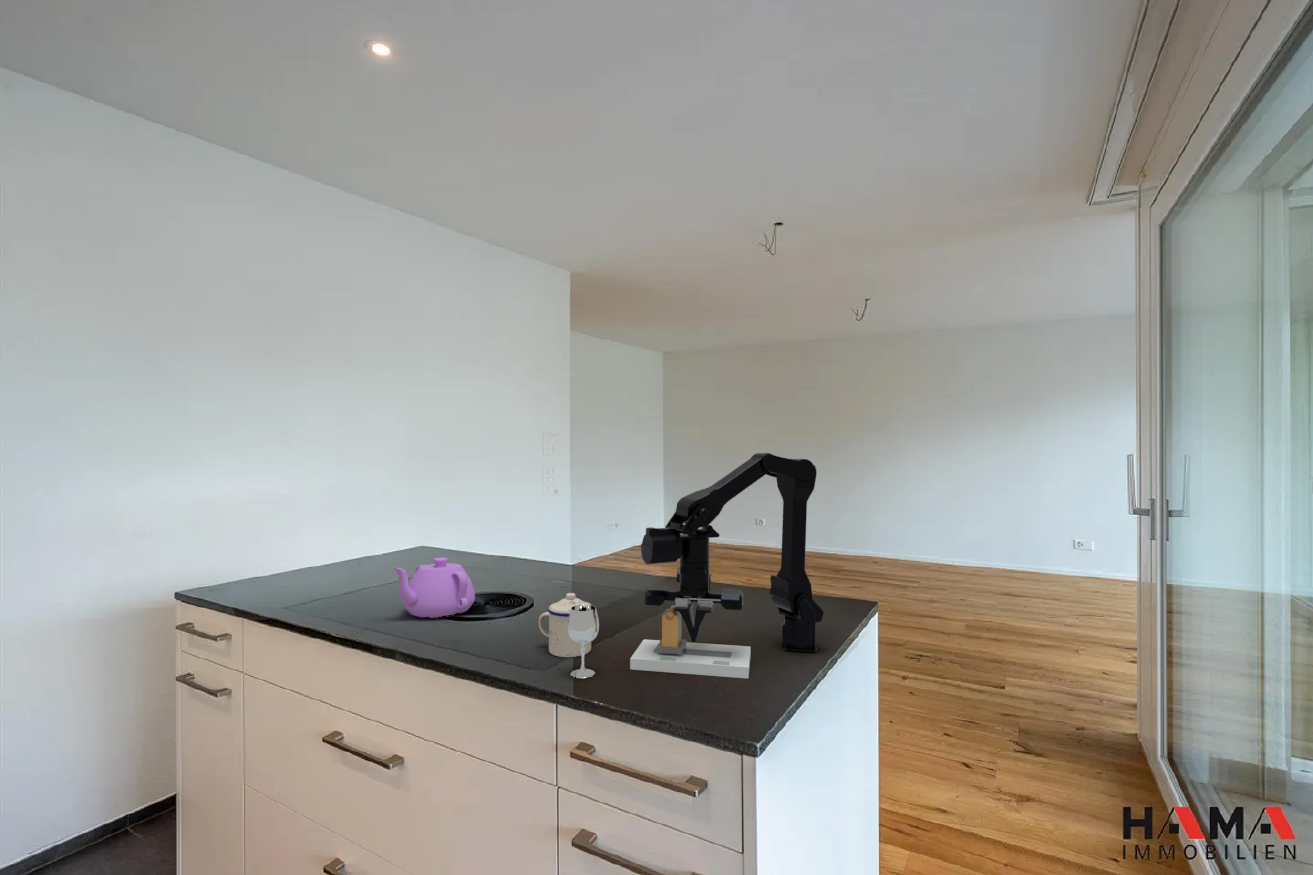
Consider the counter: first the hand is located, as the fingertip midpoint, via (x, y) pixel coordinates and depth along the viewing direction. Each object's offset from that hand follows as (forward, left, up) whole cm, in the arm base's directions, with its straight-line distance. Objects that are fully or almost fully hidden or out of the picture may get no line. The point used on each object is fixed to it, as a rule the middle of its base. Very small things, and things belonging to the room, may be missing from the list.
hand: (694, 641), depth 114 cm
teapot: (+69, -21, -4) cm, 73 cm away
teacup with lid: (+27, -2, -4) cm, 28 cm away
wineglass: (+19, +10, -4) cm, 22 cm away
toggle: (+4, 0, -2) cm, 5 cm away
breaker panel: (0, 0, -4) cm, 4 cm away
